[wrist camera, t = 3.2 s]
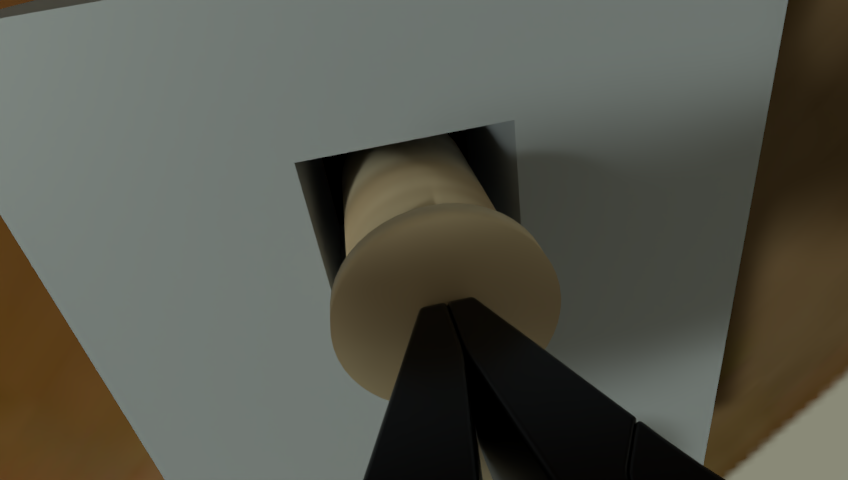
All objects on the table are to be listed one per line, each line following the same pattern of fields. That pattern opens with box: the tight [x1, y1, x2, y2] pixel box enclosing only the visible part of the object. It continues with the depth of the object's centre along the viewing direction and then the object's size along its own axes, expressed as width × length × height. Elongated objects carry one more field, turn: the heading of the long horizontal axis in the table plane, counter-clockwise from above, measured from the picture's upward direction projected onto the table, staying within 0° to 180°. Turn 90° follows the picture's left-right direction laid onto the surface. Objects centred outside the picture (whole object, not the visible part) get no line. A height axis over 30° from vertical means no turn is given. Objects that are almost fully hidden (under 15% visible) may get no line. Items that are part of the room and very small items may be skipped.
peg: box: [330, 133, 561, 401], centre depth 11 cm, size 4×4×6 cm
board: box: [0, 0, 788, 480], centre depth 15 cm, size 18×14×5 cm
